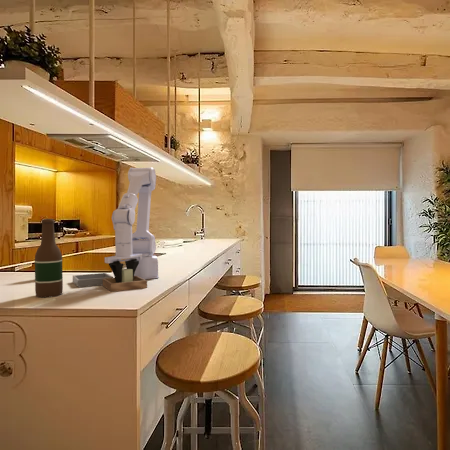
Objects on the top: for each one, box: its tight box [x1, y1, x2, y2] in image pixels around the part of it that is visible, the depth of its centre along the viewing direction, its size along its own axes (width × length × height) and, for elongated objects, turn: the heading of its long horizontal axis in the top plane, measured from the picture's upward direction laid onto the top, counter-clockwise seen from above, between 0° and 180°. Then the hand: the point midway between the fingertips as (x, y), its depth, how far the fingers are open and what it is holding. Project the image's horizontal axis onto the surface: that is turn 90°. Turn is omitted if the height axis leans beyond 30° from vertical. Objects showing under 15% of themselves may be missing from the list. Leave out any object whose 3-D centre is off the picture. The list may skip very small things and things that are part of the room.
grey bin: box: [72, 272, 114, 288], centre depth 137 cm, size 12×12×2 cm
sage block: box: [121, 267, 133, 283], centre depth 129 cm, size 4×4×6 cm
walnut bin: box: [102, 276, 148, 292], centre depth 129 cm, size 12×12×2 cm
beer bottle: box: [34, 218, 64, 299], centre depth 116 cm, size 8×8×24 cm
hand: (124, 281), depth 129 cm, fingers closed on sage block, 4 cm apart
